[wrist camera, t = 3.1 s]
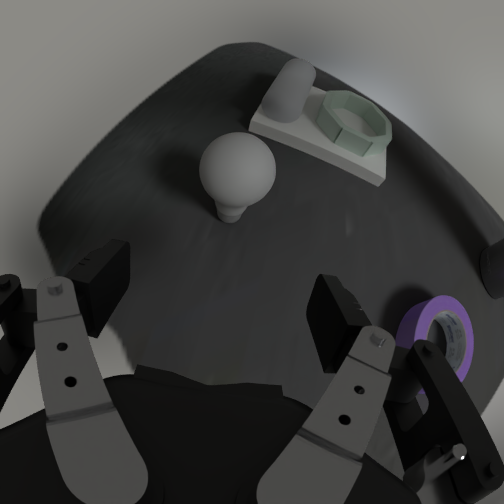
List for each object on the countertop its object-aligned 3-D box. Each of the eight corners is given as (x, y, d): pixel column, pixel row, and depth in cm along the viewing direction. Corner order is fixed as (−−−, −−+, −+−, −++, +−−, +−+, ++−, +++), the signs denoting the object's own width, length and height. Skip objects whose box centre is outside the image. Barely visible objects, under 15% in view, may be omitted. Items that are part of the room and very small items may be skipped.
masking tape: (381, 320, 28) (402, 314, 24) (440, 290, 31) (459, 282, 27) (405, 410, 24) (426, 413, 21) (460, 367, 27) (480, 364, 23)
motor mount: (380, 128, 40) (400, 101, 33) (378, 186, 34) (405, 156, 28) (277, 83, 39) (287, 49, 33) (248, 130, 34) (257, 89, 27)
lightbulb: (200, 244, 27) (199, 178, 17) (198, 192, 29) (200, 116, 19) (260, 241, 28) (291, 178, 18) (253, 191, 30) (276, 119, 20)
